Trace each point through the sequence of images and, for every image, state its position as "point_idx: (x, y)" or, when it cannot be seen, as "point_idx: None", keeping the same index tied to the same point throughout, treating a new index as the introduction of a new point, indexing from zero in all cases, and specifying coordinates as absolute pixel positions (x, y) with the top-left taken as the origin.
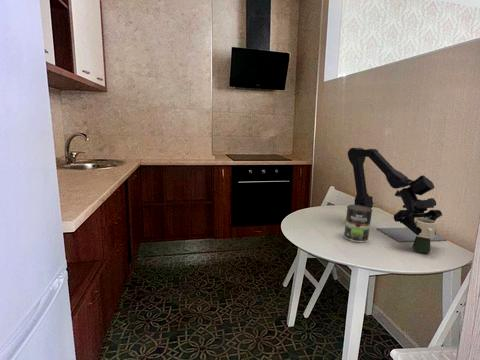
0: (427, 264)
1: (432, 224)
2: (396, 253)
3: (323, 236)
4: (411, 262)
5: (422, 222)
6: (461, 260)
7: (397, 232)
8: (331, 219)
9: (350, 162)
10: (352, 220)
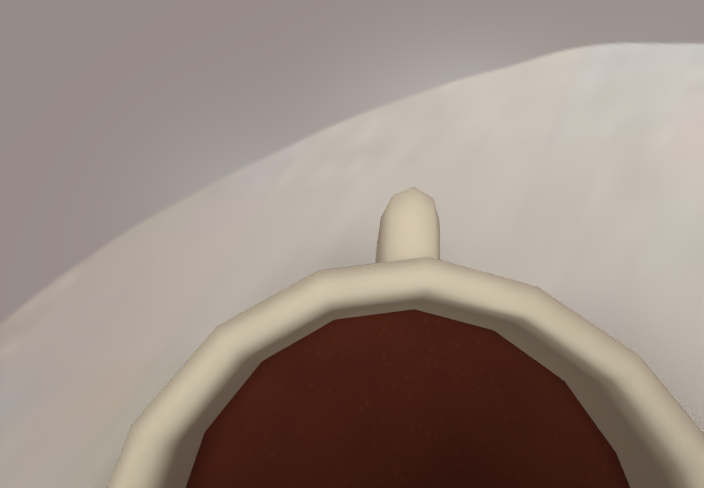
0: (452, 149)
1: (350, 272)
2: (652, 324)
3: None
4: (570, 162)
5: (630, 353)
6: (96, 272)
7: None
8: None
9: None
10: None
